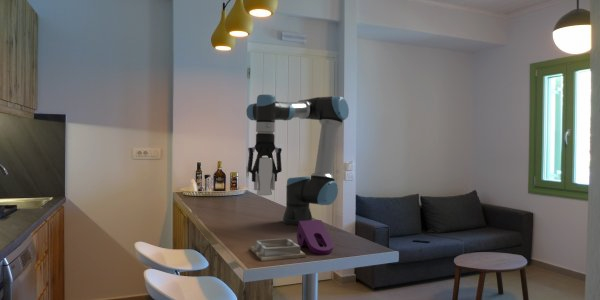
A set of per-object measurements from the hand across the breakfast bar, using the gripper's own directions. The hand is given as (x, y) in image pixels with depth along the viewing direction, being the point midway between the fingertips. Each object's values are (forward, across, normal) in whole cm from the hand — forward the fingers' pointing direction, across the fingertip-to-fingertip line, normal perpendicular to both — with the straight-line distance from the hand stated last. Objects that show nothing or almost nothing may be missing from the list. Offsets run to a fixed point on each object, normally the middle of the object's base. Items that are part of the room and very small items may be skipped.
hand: (264, 189), depth 165 cm
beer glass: (+2, 0, 0) cm, 2 cm away
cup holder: (+21, 0, -19) cm, 28 cm away
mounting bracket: (+21, +16, -17) cm, 32 cm away
